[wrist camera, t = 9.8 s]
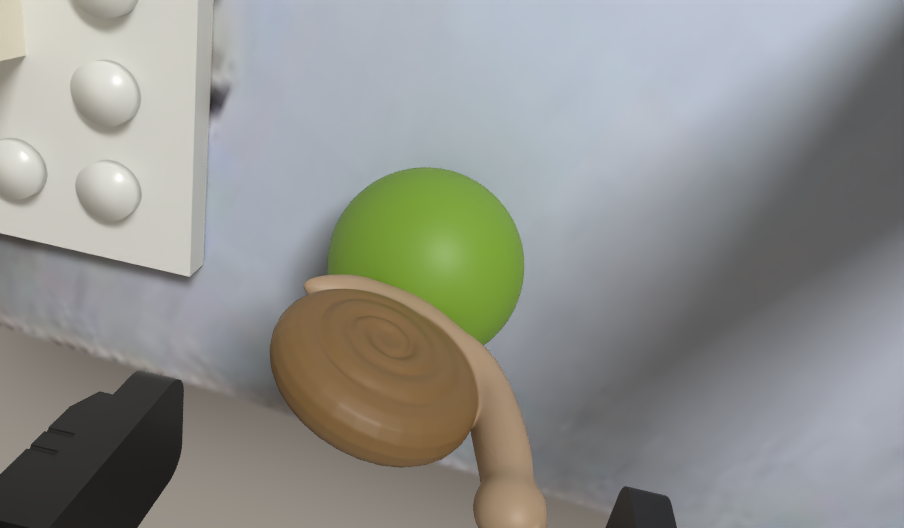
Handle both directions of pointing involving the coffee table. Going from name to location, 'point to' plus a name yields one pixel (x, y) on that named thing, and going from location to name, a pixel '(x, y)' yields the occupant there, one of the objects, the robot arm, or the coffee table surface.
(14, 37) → the base brick
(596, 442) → the coffee table surface
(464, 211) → the snail figurine
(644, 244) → the coffee table surface
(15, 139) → the build plate
